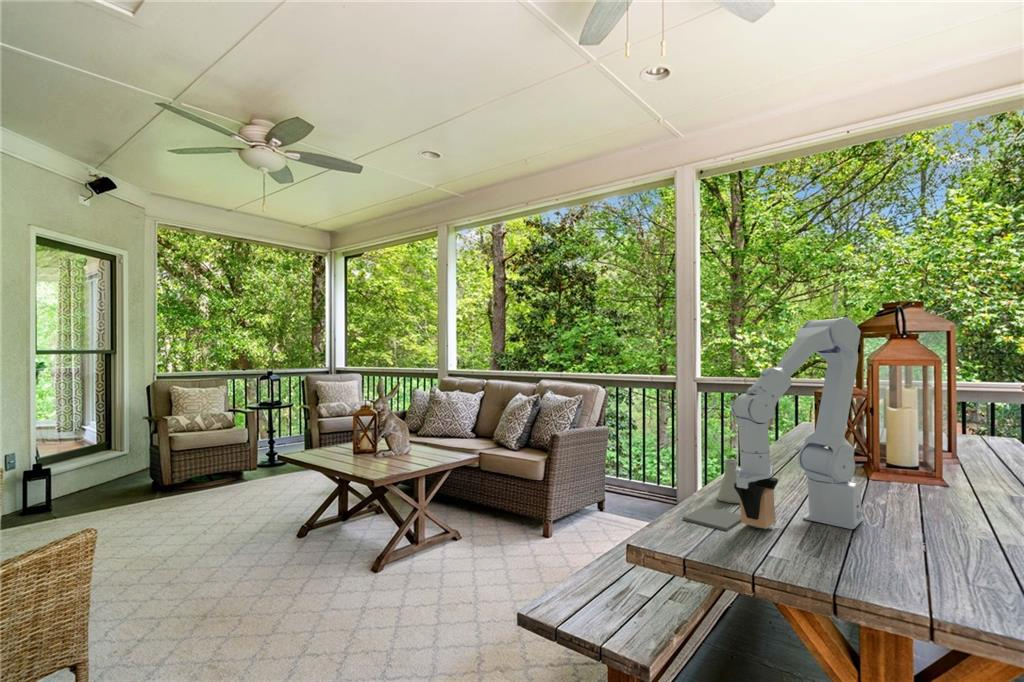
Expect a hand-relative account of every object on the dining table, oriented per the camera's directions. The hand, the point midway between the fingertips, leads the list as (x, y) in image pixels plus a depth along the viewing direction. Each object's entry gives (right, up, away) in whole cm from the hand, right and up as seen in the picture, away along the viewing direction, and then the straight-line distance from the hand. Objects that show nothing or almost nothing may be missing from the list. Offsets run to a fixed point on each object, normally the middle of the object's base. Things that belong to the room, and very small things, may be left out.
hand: (757, 514), depth 103 cm
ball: (0, -3, 0) cm, 3 cm away
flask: (+3, -3, +19) cm, 19 cm away
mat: (-7, -3, +6) cm, 9 cm away
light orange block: (0, -2, 0) cm, 2 cm away
